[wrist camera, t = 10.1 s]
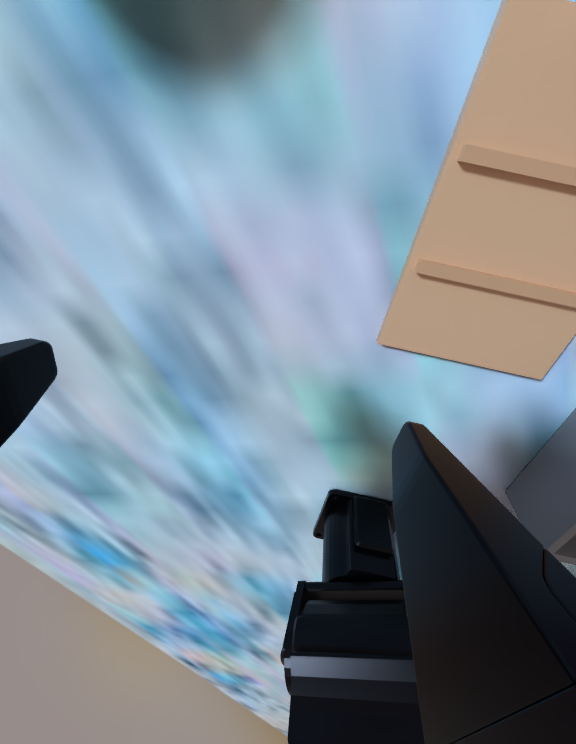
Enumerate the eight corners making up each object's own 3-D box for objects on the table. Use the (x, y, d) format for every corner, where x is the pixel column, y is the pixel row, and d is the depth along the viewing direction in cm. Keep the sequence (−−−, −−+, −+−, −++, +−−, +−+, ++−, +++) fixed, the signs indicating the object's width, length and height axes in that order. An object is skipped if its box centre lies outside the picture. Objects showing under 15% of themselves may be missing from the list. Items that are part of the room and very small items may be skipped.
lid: (534, 372, 20) (569, 410, 17) (376, 337, 20) (383, 369, 17) (850, -68, 11) (1051, -156, 8) (551, -132, 11) (634, -245, 8)
